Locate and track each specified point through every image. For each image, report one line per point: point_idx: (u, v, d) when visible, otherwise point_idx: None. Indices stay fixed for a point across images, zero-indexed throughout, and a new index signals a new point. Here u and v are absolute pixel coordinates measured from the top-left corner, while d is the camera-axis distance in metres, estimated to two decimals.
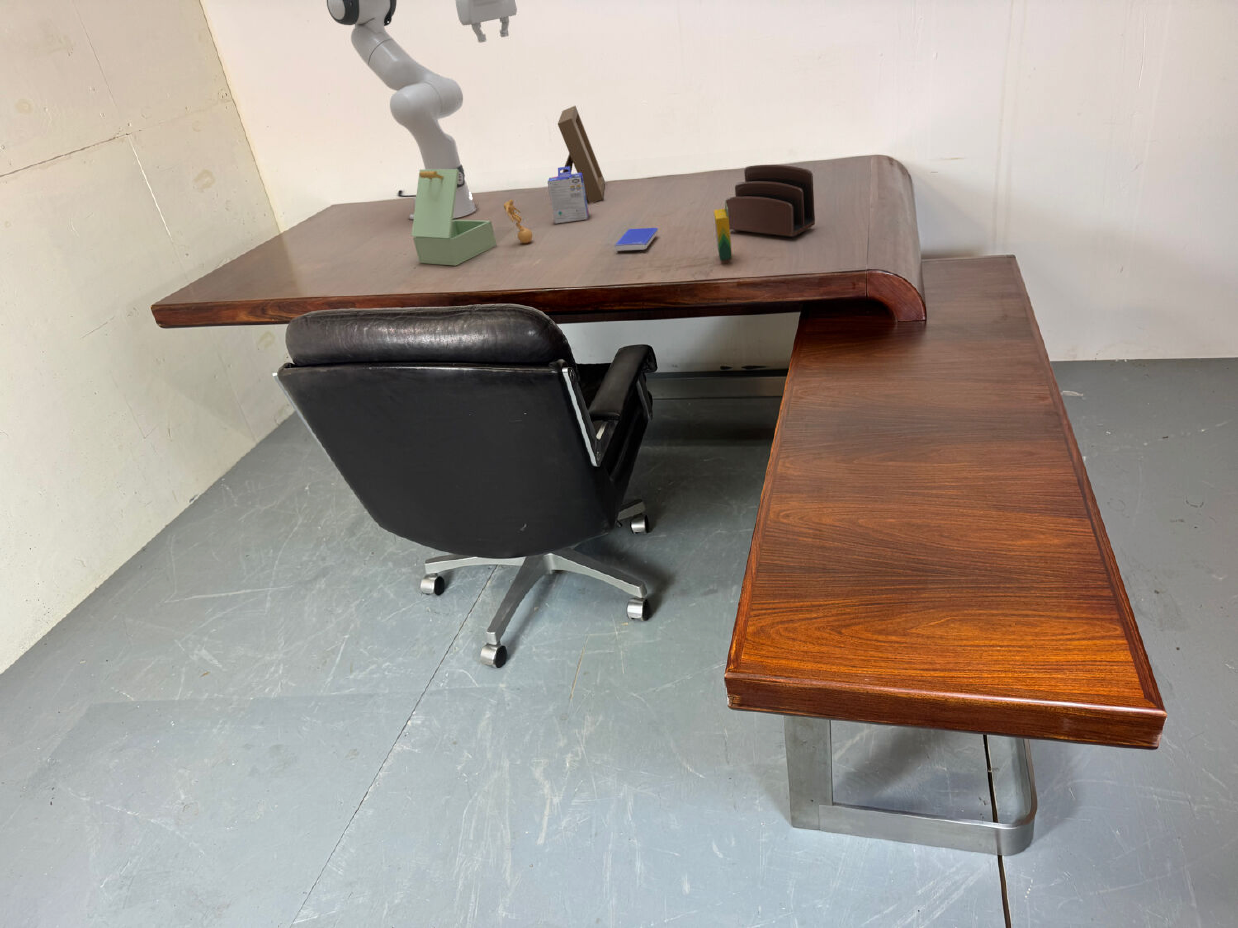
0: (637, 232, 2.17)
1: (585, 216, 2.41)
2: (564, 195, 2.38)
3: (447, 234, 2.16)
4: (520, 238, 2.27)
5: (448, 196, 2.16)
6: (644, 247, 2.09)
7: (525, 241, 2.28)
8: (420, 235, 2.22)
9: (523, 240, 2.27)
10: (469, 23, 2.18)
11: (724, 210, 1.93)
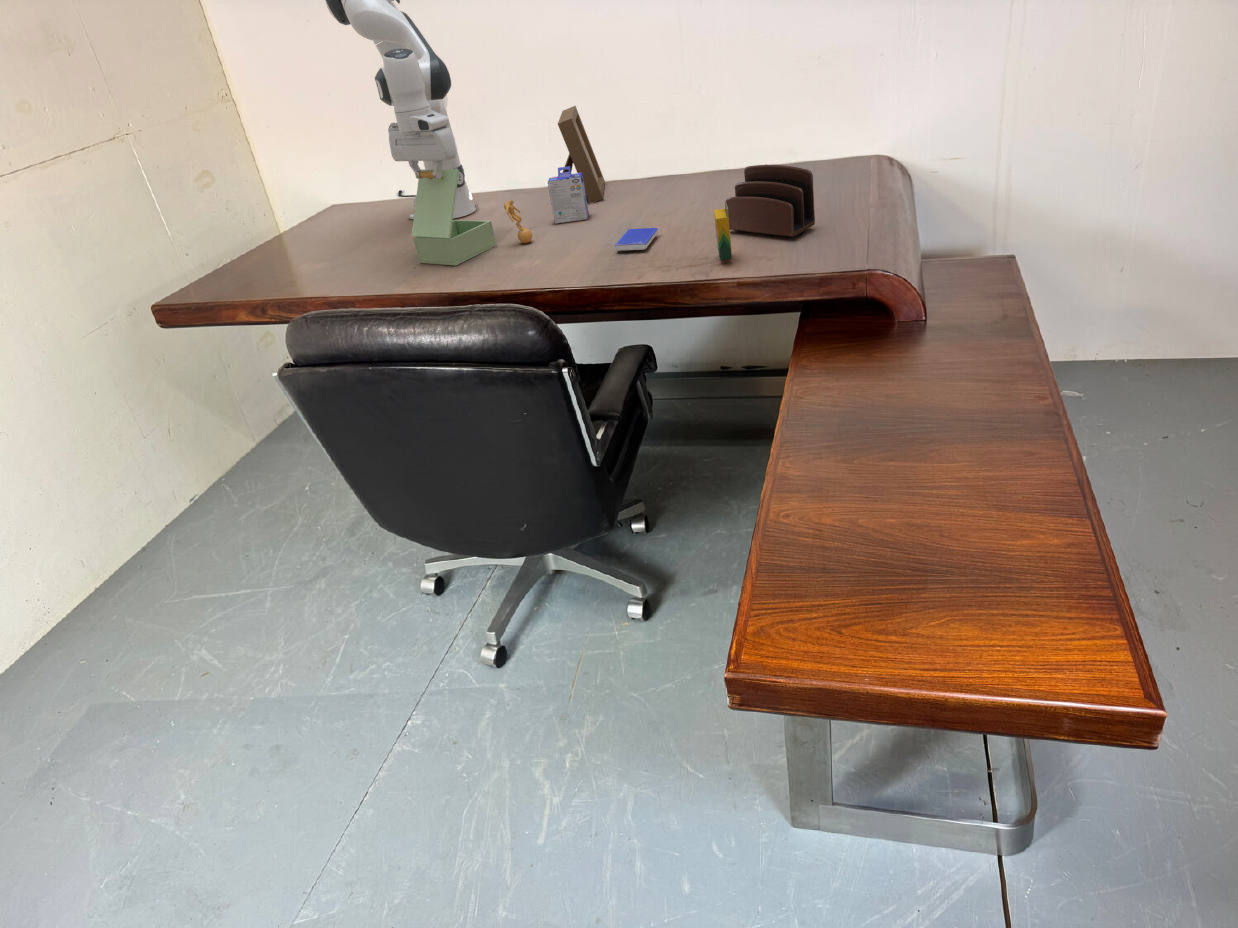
0: (637, 232, 2.17)
1: (585, 216, 2.41)
2: (564, 195, 2.38)
3: (447, 234, 2.16)
4: (520, 238, 2.27)
5: (448, 196, 2.16)
6: (644, 247, 2.09)
7: (525, 241, 2.28)
8: (420, 235, 2.22)
9: (523, 240, 2.27)
10: (454, 156, 2.09)
11: (724, 210, 1.93)
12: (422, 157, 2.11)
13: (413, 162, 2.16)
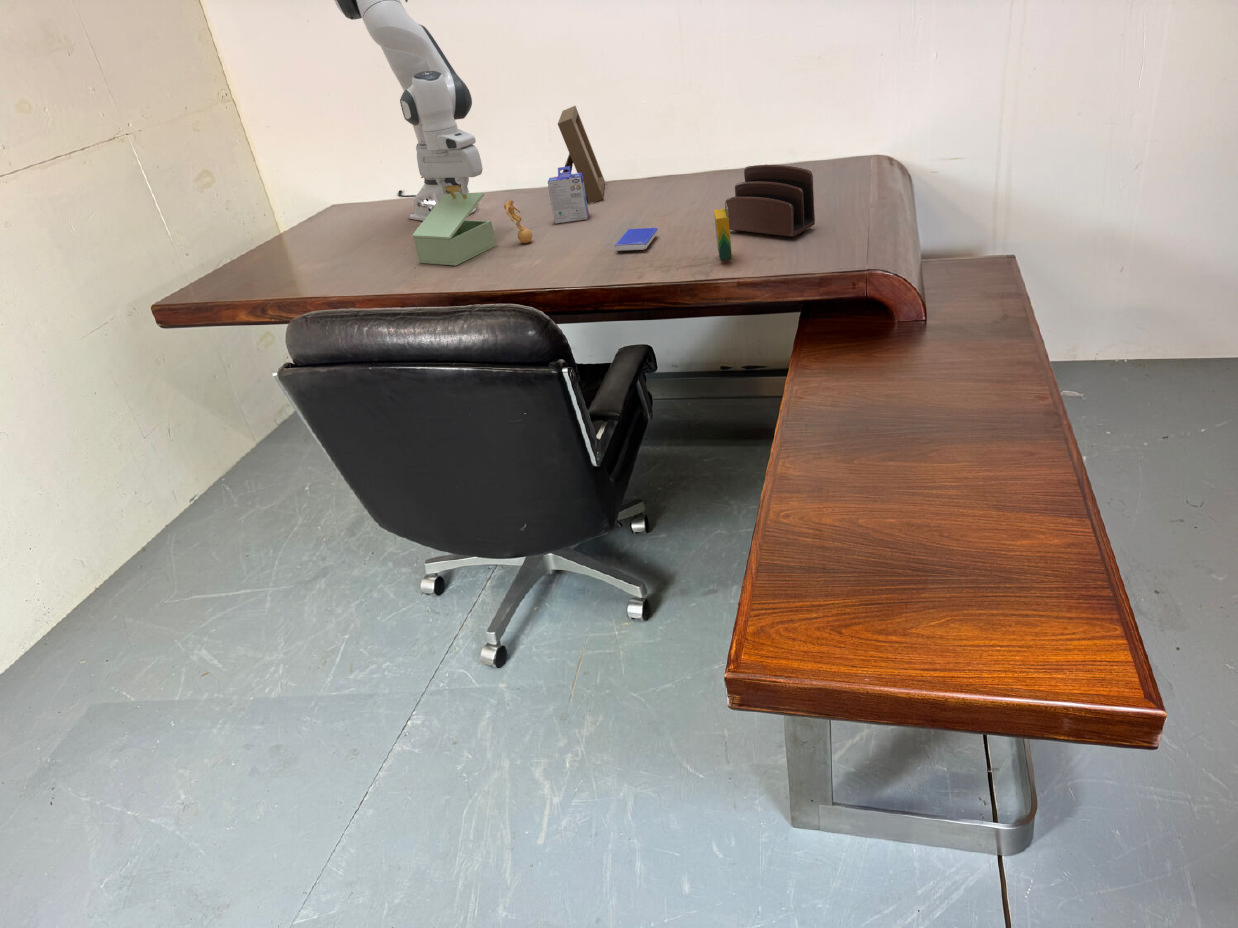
0: (637, 232, 2.17)
1: (585, 216, 2.41)
2: (564, 195, 2.38)
3: (449, 234, 2.17)
4: (520, 238, 2.27)
5: (465, 209, 2.22)
6: (644, 247, 2.09)
7: (525, 241, 2.28)
8: (421, 235, 2.22)
9: (523, 240, 2.27)
10: (480, 173, 2.18)
11: (724, 210, 1.93)
12: (449, 174, 2.20)
13: (440, 179, 2.24)
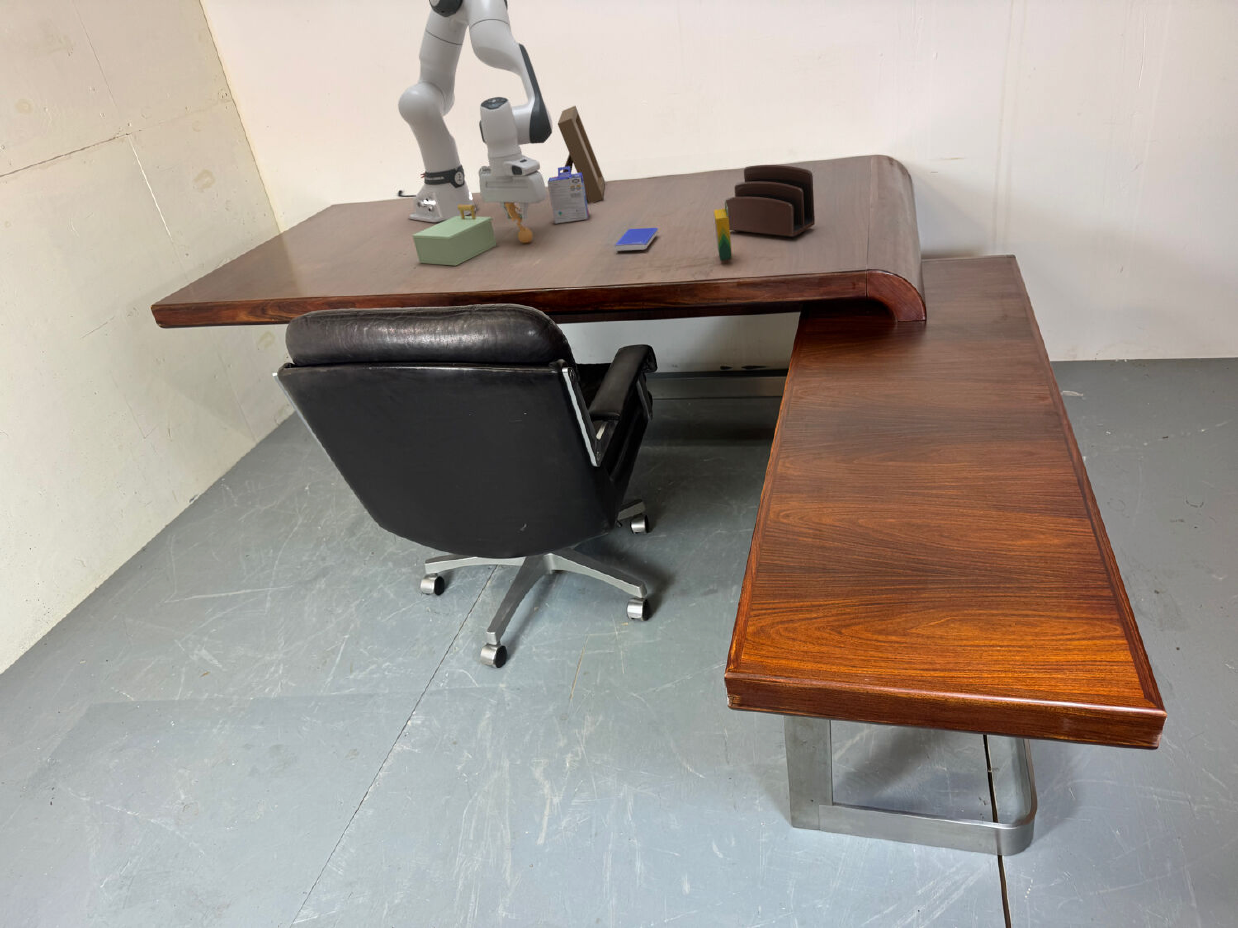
0: (637, 232, 2.17)
1: (585, 216, 2.41)
2: (564, 195, 2.38)
3: (450, 235, 2.17)
4: (520, 238, 2.27)
5: (471, 224, 2.24)
6: (644, 247, 2.09)
7: (525, 241, 2.27)
8: (421, 235, 2.22)
9: (524, 240, 2.27)
10: (544, 199, 2.19)
11: (724, 210, 1.93)
12: (513, 199, 2.21)
13: None
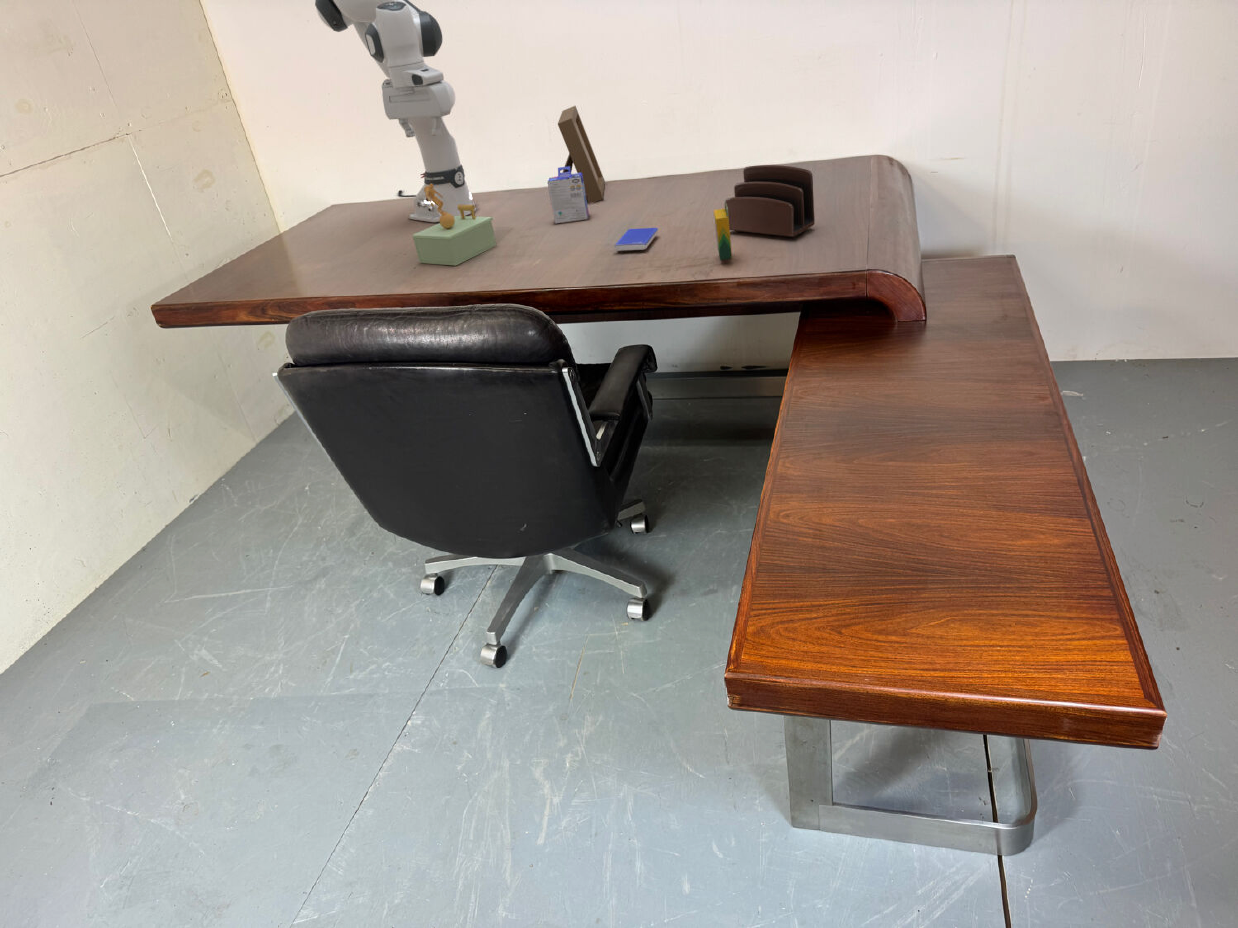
0: (637, 232, 2.17)
1: (585, 216, 2.41)
2: (564, 195, 2.38)
3: (450, 235, 2.17)
4: (442, 223, 2.22)
5: (471, 224, 2.24)
6: (644, 247, 2.09)
7: (447, 226, 2.22)
8: (421, 235, 2.22)
9: (445, 225, 2.22)
10: (449, 112, 2.06)
11: (724, 210, 1.93)
12: (417, 113, 2.07)
13: (403, 120, 2.13)
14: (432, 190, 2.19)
